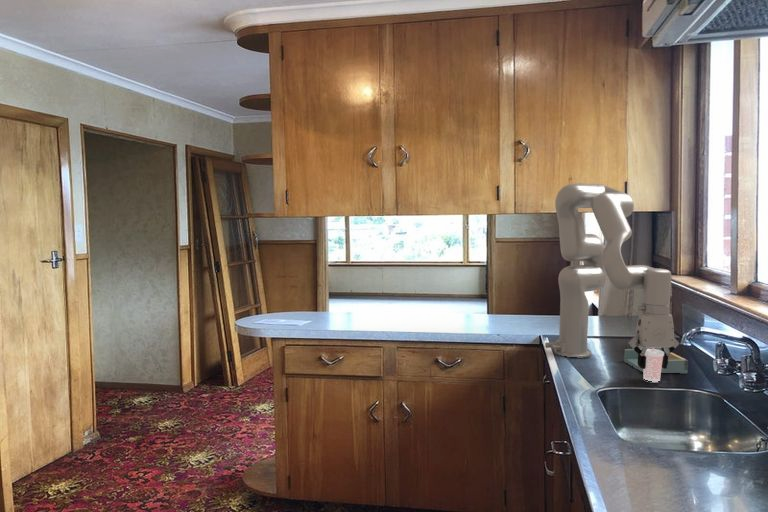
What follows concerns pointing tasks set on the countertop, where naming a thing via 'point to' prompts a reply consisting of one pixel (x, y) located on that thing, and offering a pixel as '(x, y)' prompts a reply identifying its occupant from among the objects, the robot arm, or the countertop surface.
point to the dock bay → (674, 366)
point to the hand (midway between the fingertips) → (652, 366)
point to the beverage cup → (653, 365)
